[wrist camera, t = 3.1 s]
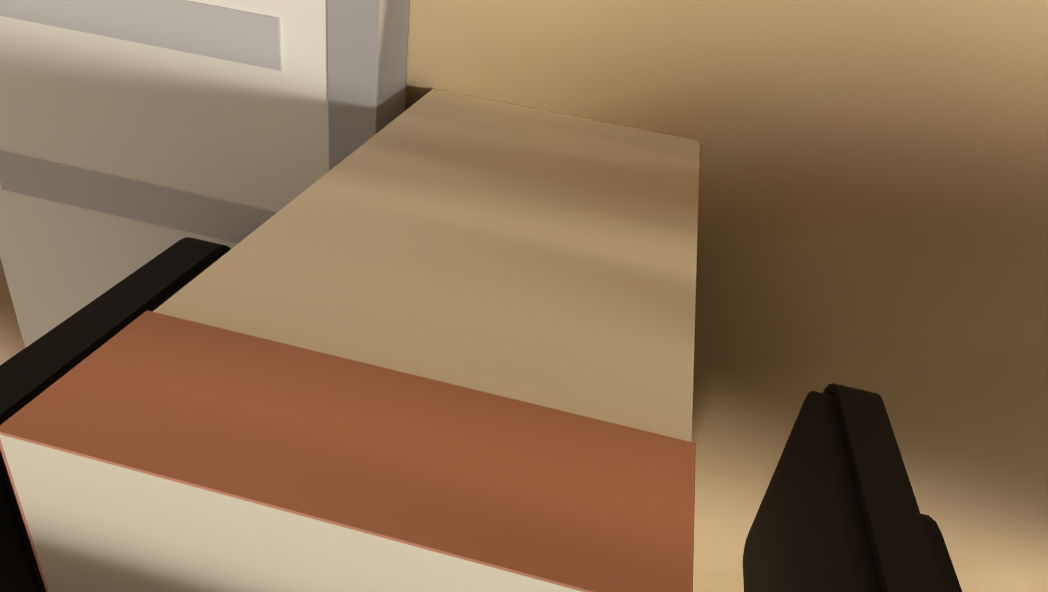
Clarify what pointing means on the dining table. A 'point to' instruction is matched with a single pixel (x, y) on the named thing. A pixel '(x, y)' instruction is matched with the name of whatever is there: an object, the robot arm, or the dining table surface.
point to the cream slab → (173, 127)
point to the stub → (401, 381)
